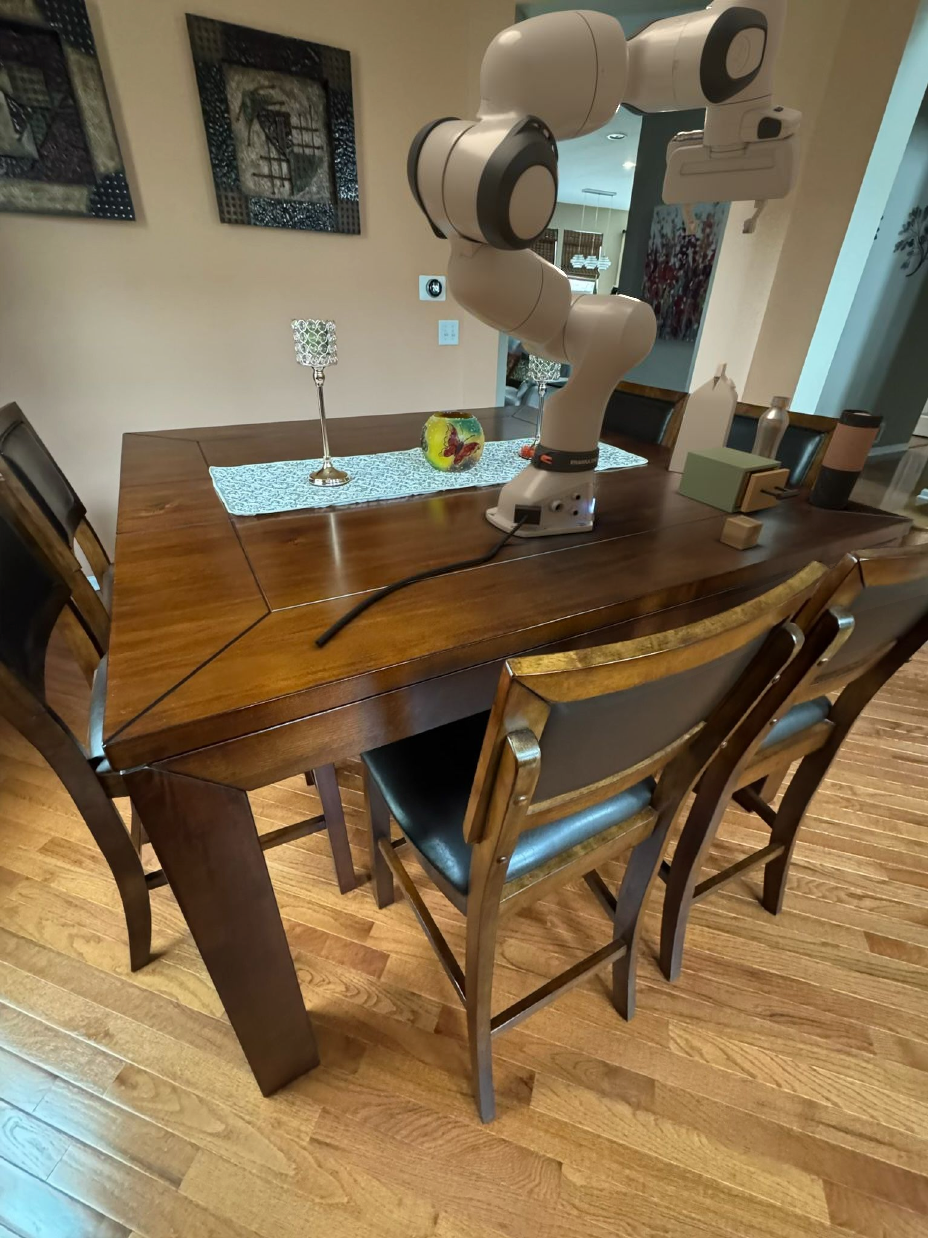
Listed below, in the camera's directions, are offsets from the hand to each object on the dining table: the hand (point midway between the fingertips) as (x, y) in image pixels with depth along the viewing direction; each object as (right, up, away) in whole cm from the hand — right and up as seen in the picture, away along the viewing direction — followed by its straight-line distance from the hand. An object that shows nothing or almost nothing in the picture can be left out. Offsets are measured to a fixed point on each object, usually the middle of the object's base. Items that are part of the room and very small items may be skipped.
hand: (719, 233), depth 92 cm
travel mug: (+39, -40, +31) cm, 64 cm away
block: (+8, -52, +9) cm, 53 cm away
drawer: (+19, -40, +27) cm, 52 cm away
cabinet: (+16, -38, +32) cm, 52 cm away
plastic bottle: (+31, -31, +46) cm, 63 cm away
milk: (+19, -26, +53) cm, 62 cm away
